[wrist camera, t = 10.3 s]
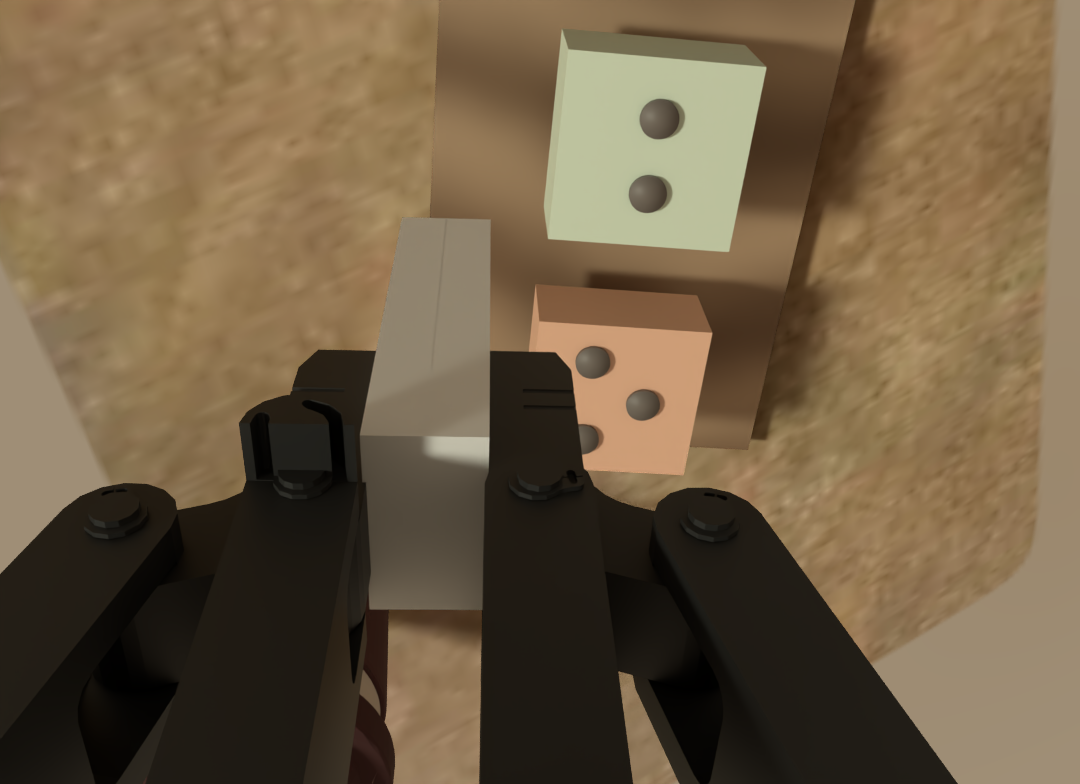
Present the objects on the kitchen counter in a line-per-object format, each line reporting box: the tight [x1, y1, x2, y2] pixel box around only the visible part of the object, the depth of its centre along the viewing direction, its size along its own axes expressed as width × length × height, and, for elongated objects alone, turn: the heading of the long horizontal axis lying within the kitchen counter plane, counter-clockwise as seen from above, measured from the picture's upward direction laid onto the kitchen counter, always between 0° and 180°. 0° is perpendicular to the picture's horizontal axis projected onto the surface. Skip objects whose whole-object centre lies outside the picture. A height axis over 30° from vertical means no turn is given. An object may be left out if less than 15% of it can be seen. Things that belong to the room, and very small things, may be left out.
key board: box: [430, 0, 855, 450], centre depth 36 cm, size 28×14×2 cm, turn 175°
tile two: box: [544, 28, 766, 252], centre depth 33 cm, size 6×6×3 cm
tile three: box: [529, 284, 712, 475], centre depth 38 cm, size 6×6×3 cm
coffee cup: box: [143, 590, 395, 784], centre depth 40 cm, size 10×10×15 cm
